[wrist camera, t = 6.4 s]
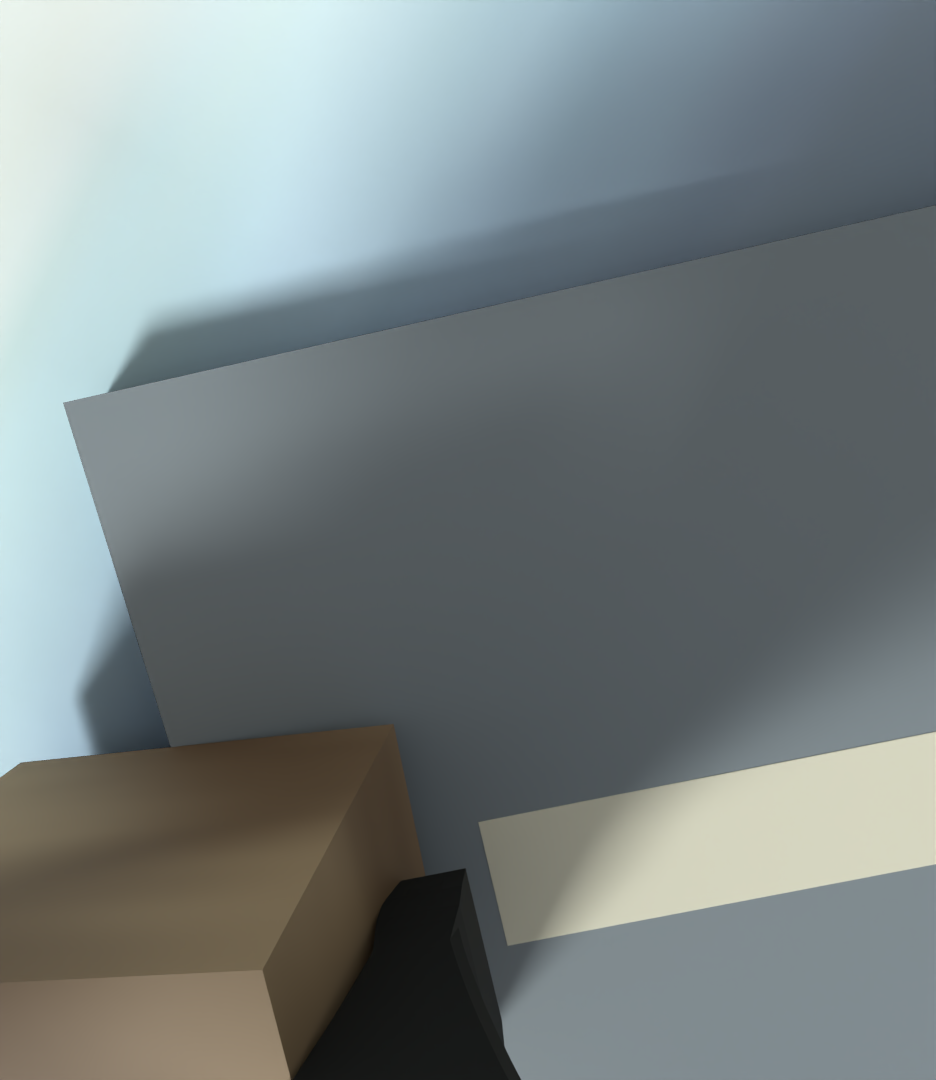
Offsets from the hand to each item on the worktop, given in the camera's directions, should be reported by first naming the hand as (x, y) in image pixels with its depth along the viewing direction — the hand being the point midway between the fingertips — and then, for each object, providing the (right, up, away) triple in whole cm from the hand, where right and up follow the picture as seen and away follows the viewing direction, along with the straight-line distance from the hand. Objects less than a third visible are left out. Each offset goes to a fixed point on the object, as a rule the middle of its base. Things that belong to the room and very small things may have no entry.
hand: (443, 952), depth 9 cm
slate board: (+5, +1, +2) cm, 6 cm away
